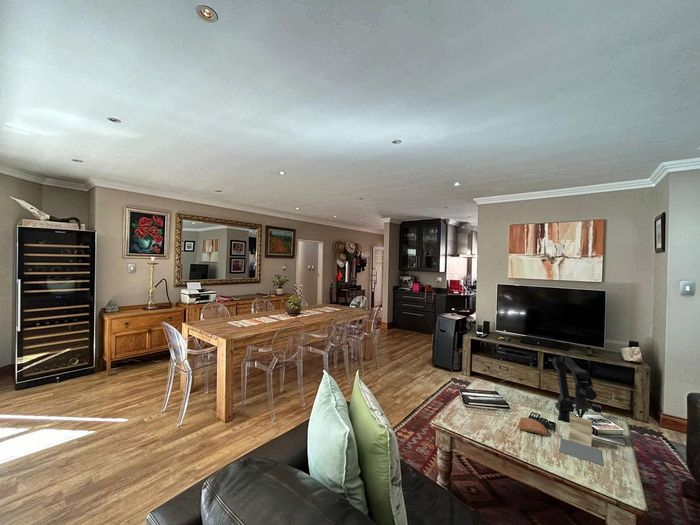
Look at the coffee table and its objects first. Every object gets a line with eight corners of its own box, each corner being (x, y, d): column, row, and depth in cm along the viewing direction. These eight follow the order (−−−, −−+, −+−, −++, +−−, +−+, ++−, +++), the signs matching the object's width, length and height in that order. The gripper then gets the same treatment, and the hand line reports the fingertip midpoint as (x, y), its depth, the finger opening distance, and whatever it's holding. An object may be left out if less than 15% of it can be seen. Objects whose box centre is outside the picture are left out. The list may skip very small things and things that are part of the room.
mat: (560, 438, 177) (560, 437, 177) (600, 450, 167) (600, 449, 167) (559, 452, 164) (559, 451, 164) (603, 465, 154) (603, 465, 154)
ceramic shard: (545, 418, 191) (548, 433, 178) (543, 427, 192) (545, 442, 179) (519, 409, 197) (519, 423, 184) (517, 418, 199) (517, 432, 185)
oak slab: (569, 437, 179) (569, 415, 179) (591, 443, 173) (591, 420, 173) (569, 440, 176) (569, 417, 176) (591, 446, 170) (591, 423, 170)
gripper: (561, 393, 180) (560, 419, 180) (602, 402, 169) (601, 430, 169) (561, 387, 189) (561, 412, 189) (600, 395, 178) (600, 422, 178)
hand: (580, 419), depth 181 cm, fingers closed
